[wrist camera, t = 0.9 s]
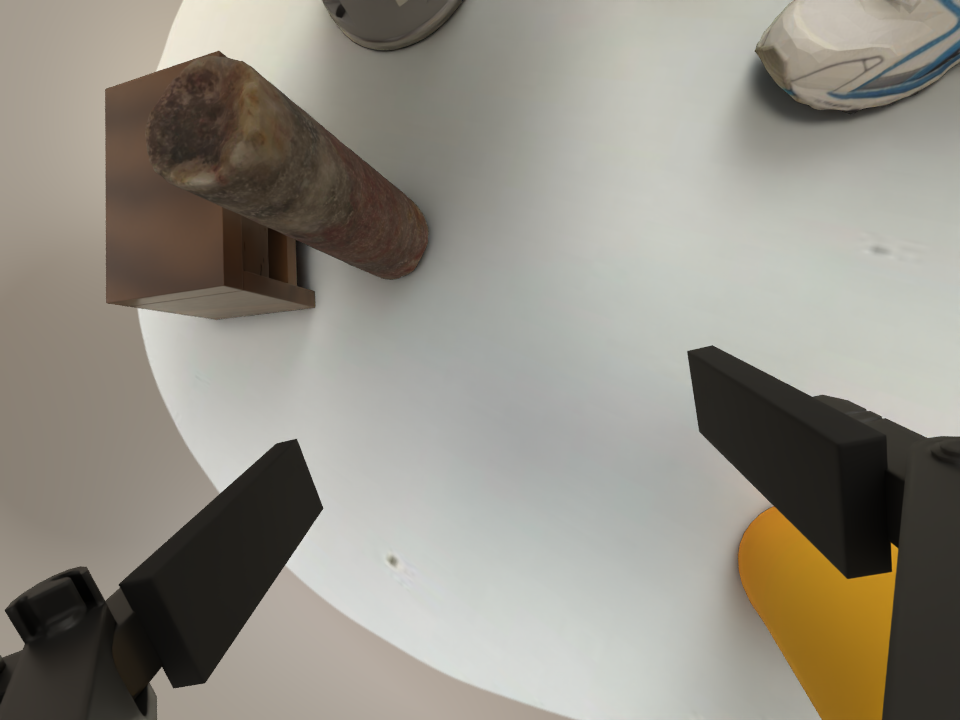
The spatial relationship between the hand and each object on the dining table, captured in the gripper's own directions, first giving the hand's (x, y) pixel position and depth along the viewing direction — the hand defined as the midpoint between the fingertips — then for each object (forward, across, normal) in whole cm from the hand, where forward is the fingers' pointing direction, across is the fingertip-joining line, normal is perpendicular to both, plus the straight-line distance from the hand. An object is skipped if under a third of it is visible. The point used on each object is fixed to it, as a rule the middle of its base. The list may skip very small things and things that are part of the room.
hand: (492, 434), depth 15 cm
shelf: (+32, -21, +13) cm, 41 cm away
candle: (+28, -8, +8) cm, 31 cm away
